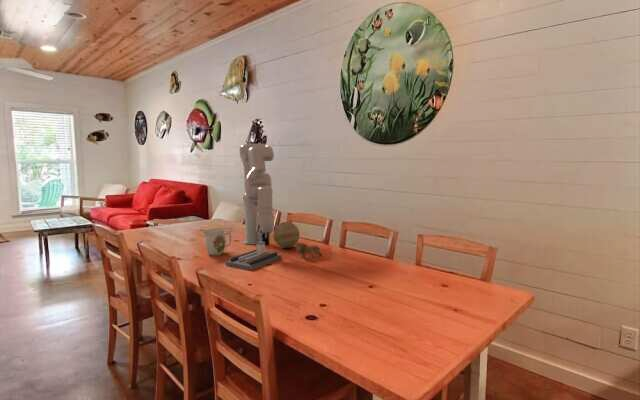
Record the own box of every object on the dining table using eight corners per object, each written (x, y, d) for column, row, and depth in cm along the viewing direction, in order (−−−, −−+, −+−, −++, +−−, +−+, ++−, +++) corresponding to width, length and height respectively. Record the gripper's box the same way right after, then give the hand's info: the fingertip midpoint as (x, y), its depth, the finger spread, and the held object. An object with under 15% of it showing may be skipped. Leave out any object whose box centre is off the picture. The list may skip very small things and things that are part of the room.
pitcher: (237, 252, 212) (236, 227, 210) (207, 258, 199) (206, 232, 197) (226, 248, 219) (225, 225, 218) (197, 254, 206) (196, 229, 205)
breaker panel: (257, 254, 208) (257, 247, 207) (281, 258, 199) (281, 250, 199) (226, 265, 187) (225, 257, 187) (251, 270, 179) (250, 262, 178)
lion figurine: (297, 260, 196) (297, 243, 194) (294, 257, 201) (294, 241, 199) (324, 258, 200) (324, 241, 199) (320, 255, 205) (320, 239, 204)
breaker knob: (260, 253, 199) (260, 241, 199) (265, 254, 198) (265, 241, 197) (256, 255, 197) (256, 242, 196) (261, 256, 195) (261, 243, 194)
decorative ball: (287, 252, 212) (287, 225, 210) (268, 248, 221) (267, 222, 219) (304, 246, 224) (304, 221, 222) (285, 243, 233) (285, 219, 231)
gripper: (268, 208, 206) (268, 241, 208) (250, 212, 193) (250, 247, 196) (279, 209, 202) (280, 243, 205) (261, 213, 190) (262, 249, 192)
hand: (265, 245), depth 200 cm, fingers closed
